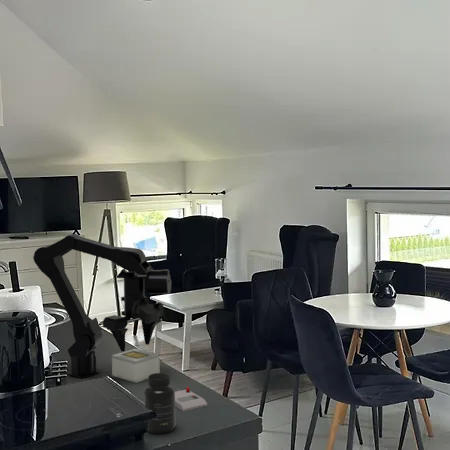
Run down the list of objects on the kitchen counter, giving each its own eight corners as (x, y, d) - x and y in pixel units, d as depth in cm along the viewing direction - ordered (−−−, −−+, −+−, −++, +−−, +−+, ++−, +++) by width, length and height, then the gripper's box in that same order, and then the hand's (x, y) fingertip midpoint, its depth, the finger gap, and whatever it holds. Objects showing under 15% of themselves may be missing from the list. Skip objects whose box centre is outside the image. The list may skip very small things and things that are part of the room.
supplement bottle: (141, 425, 140) (140, 373, 140) (170, 420, 143) (169, 369, 142) (149, 436, 134) (147, 382, 133) (179, 431, 136) (178, 378, 136)
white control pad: (187, 415, 147) (187, 403, 147) (158, 396, 160) (158, 385, 160) (211, 409, 150) (211, 397, 150) (181, 391, 164) (181, 380, 164)
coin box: (136, 382, 170) (135, 361, 170) (112, 375, 176) (111, 355, 176) (159, 374, 177) (159, 354, 176) (136, 368, 183) (135, 348, 183)
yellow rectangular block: (138, 376, 174) (138, 357, 174) (126, 373, 177) (125, 354, 177) (146, 373, 176) (145, 354, 176) (133, 370, 179) (133, 352, 179)
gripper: (128, 301, 163) (129, 360, 164) (177, 291, 177) (178, 345, 178) (101, 297, 170) (102, 353, 171) (150, 287, 184) (151, 339, 185)
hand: (135, 347), depth 176 cm, fingers open, 9 cm apart
